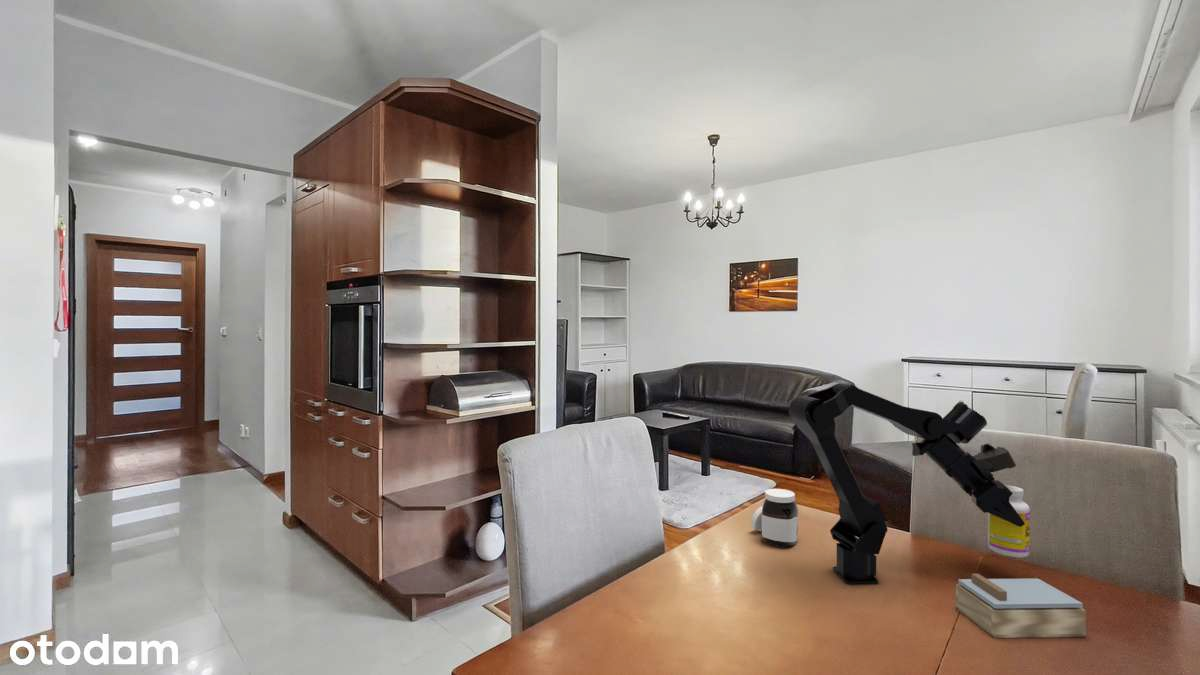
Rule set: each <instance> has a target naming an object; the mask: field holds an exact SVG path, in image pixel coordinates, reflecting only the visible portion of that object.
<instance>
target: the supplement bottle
mask: <svg viewBox="0 0 1200 675" xmlns="http://www.w3.org/2000/svg"><path fill="white" fill-rule="evenodd" d="M1004 485H1005V486H1006V487H1007V488H1008V489H1009V490H1010V491H1011V492H1012V493H1013V494H1012V495H1011V496H1010V498H1009V502H1010V504H1011V505H1012V506H1013V508H1014V509H1015V510H1016V512H1017V513H1018V515H1019V516H1020V517H1021V519H1022V520H1023V521H1024V523H1025V524H1024V525H1023V526H1021V527H1019V526H1017V525H1015V524H1013V523H1010V522H1008V521H1006V520H1004V519H1002V518H999V517H997V516H995V515H992V514H990V513H988V512H987V546H988V548H989V549H990V550H991V551H993V552H995V553H997V554H999V555H1003V556H1008V557H1011V558H1026V557H1028V556H1029V555H1030V552H1031V551H1030V548H1031V547H1030V545H1031V544H1030V543H1031V542H1030V541H1031V539H1030V535H1031V532H1030V528H1031V524H1030V518H1031V517H1030V515H1031V514H1030V513H1031V512H1030V506H1029V504H1028V503H1026V502H1025V501H1023V497H1024V494H1025V493H1024V489H1023V488H1021V487H1017V486H1014V485H1008V484H1004Z"/></svg>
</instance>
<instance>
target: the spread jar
mask: <svg viewBox="0 0 1200 675" xmlns="http://www.w3.org/2000/svg"><path fill="white" fill-rule="evenodd" d="M764 498H765V499H764V501H763V503H762V505H761V506H760V507H758V508H757V509H756V510H755V512H754V513H753V515H752V516H751V519H750V527H751V528H752V529H754V531H755V532H758V530H761V529H762V531H761V537H762V539H763V541H765V542H768V543H767V544H769V543H771V544H773V545H772V546H775V545H778V546H777V547H780V546H790V547H792V546H796V544H797V541H798V537H799V509H798V505H797V503H796V493H795V492H793V491H792V490H789V489H784V488H783V489H782V488H769V489H766V490H765V491H764ZM771 544H770V545H771Z"/></svg>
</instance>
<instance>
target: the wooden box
mask: <svg viewBox="0 0 1200 675" xmlns="http://www.w3.org/2000/svg"><path fill="white" fill-rule="evenodd" d="M955 609H956V610H958V612H960V613H961V614H962V615H964V616H965V617H967V618H968V619H969V620H970V621H971V622H973V623H974V624H975V625H977V626H978V627H979V628H981V629H982V630H983V631H985V632H986V634H989V635H990V636H991V637H992V638H994V639H1003V638H1004V639H1013V638H1014V639H1015V638H1019V639H1020V638H1022V639H1023V638H1025V639H1026V638H1029V639H1031V638H1085V637H1087V636H1086V635H1087V634H1086V631H1087V630H1086V625H1087V624H1086V623H1087V622H1086V619H1087V618H1086V617H1087V616H1086V613H1087V612H1086V611H1087V610H1086V609H1085V608H1005V609H995V608H993V607H992V606H991V605H989V604H988V603H986V602H985V601H983V600H982V599H980V598H979V597H978V596H976V595H975V594H973V593H972V592H970V591H969V590H967V589H966V588H965V587H963V586H962V585H960V584H959V583H957V584H955Z"/></svg>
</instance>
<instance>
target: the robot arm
mask: <svg viewBox="0 0 1200 675" xmlns="http://www.w3.org/2000/svg"><path fill="white" fill-rule="evenodd" d="M849 407H852V408H855V409H858V410H860V411H862V412H866V413H867V414H870V415H872V416H875V417H878V418H881V419H883V420H886V421H887V422H889V423H890V424H892V425H893V427H895V428H896V429H897V430H899V431H901V432H903V433H905V434H906V435H909V436H913V437H916V438H921V439H922V440H921V441H918V442H912V443H911V446H912V452H911V455H912V456H913V457H919V456H924V455H925V456H927V457H929V459H930V460H932V461H933V462H934V463H935V464H936V465H937V466H938V467H939V468H940V469H941V470H942V471H943V472H944V473H945V474H946V475H947V476H948V478H951V480H953V482H955V483H956V484H957V485H958V486H959V487H960V488H961V489H962V490H963V491H964V492H965V493H966V494H968V495H969V496H970V497H971V501H972V503H973V504H974V505H975V506H976V507H977V508H978V509H980V510H981V511H982V512H983V513H984V514H988V513H990V514H992V515H995V516H997V517H999V518H1002V519H1004V520H1006V521H1008V522H1010V523H1013V524H1015V525H1017V526H1019V527H1021V526H1023V525H1024V524H1025V523H1024V521H1023V520H1022V519H1021V517H1020V516H1019V515H1018V513H1017V512H1016V510H1015V509H1014V508H1013V506H1012V505H1011V504H1010V502H1009V498H1010V496H1011V495H1012V494H1013V493H1012V492H1011V491H1010V490H1009V489H1008V488H1007V487H1006V486H1005V485H1006V484H1003V483H1002V482H1001V481H1000V480H995V477H994V474H992V473H995V472H998V471H1001V470H1005V469H1006V470H1007V469H1013V468H1016V466H1017V464H1016V463H1015V461H1014V459H1013V457H1012V455H1011V453H1010V451H1009V450H1008V449H1007V448H1005V447H1004V446H1002V447H1001V446H997V447H994V446H993V445H991V444H990V443H984V444H981V445H980V452H978V453H977V454H975V455H972V454H971V453H970V452H968V451H965V450H964V449H963V448H962V447H960V445H959V444H964V445H965V444H969V443H970V442H971V441H972V440H973V439H974V438H975V437H976V436H977V435H978V434H979V433H980V432H981V431H982V430H983V429H984V428H985V427H986V426H987V425H988V422H987V419H986V418H985V416H983V415H982V414H980V413H979V412H978V411H976V410H974V409H972V408H971V407H969V406H968V404H966V403H962V402H957V403H956V404H955V405H954V406H953V407H952V409H951V410H950V411H949V412H948V413H947V414H946V415H944V416H941V415H940V414H939V413H937V412H934V411H930V410H929V411H928V410H923V409H920V408H919V409H918V408H915V407H914V408H913V407H909V406H903V405H901V404H898V403H896V402H893V401H891V400H888V399H886V398H883V397H881V396H879V395H877V394H873V393H871V392H869V391H865V390H864V389H861V388H858V387H857V386H856V385H854V384H847V383H842V382H839V383H836V384H833V385H832V386H830V387H828V388H827V387H826V388H824V389H821V390H818V391H814V392H812V393H809V394H807V395H799V396H796V397H794V398H793V399H792V400H791V402H790V404H789V407H788V415H789V417H790V418H791V420H792V421H793V422H794V424H795V425H796V427H797V429H799V431H801V433H802V434H803V435H804V436H805V437H806V438H807V439H809V440H810V442H811V444H812V447H813V448H814V451H815V452H816V456H817V457H818V459H819V461H820V464H821V465H822V467H823V469H824V471H825V473H826V475H827V478H828V480H829V482H830V484H831V486H832V487H833V490H834V492H835V494H836V497H837V498H838V500H839V501H838V503H839V504H838V514H839V517H840V518H839V519H838V520H837V522H835V524H834V525H833V526H832V527H831V529H830V530H829V531H830V532H829V533H830V535H831V538H832V539H833V540H834V541H836V542H837V543H836V566H832V570H833V572H835V573H836V574H837V575H838V577H840V578H841V579H842V581H844V582H845V584H848V585H849V584H851V585H852V584H853V585H854V584H879V581H880V580H879V579H878V578H877V556H876V555H879V554H880V552H881V549H882V546H883V542H884V539H885V536H886V534H887V532H888V525H887V522H888V521H889V520H888V518H887V517H886V516H885V515H884V513H883V510H882V506H881V504H880V503H879V502H878V501H876V500H874V499H871V498H869V497H867V496H866V495H864V494H863V492H862V490H861V488H860V486H859V484H858V482H857V480H856V477H855V475H854V474H853V471H852V469H851V467H850V465H849V463H848V460H847V459H846V457H845V454H844V452H843V449H842V448H841V446H840V444H839V441H838V440H837V437H836V424H837V423H836V419H835V418H837V417H839V416H841V415H842V414H843V413H844V412H845V411H846V410H847V409H848V408H849Z"/></svg>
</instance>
